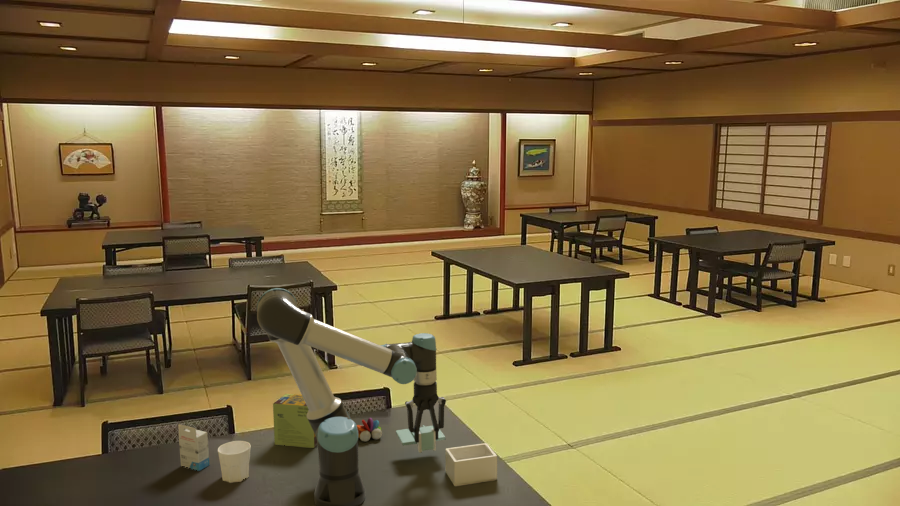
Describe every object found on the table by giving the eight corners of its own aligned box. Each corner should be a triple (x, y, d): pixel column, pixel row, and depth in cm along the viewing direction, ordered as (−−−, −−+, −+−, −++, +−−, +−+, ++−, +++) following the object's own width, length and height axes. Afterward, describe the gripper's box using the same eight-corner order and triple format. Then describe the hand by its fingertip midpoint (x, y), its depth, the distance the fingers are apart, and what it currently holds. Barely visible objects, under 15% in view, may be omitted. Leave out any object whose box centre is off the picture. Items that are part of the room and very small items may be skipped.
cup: (218, 486, 213) (216, 456, 212) (220, 471, 223) (218, 442, 222) (252, 481, 216) (250, 452, 215) (252, 467, 226) (250, 439, 224)
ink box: (210, 465, 227) (207, 423, 225) (198, 471, 223) (195, 428, 221) (191, 460, 231) (189, 418, 229) (180, 466, 227) (177, 423, 225)
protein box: (314, 448, 240) (313, 406, 238) (274, 445, 243) (272, 403, 241) (326, 436, 250) (324, 395, 248) (286, 433, 253) (284, 393, 251)
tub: (454, 486, 212) (454, 461, 211) (445, 471, 222) (445, 448, 221) (497, 479, 216) (497, 455, 215) (486, 466, 226) (486, 443, 225)
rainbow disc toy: (352, 435, 251) (351, 416, 250) (377, 430, 255) (377, 412, 254) (359, 444, 243) (358, 425, 242) (385, 439, 247) (384, 420, 246)
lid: (406, 454, 221) (405, 435, 220) (396, 435, 236) (395, 417, 235) (449, 447, 225) (449, 429, 224) (436, 429, 240) (436, 412, 239)
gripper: (401, 388, 215) (403, 458, 219) (453, 382, 220) (454, 451, 224) (396, 380, 223) (398, 448, 226) (447, 375, 227) (448, 441, 231)
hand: (426, 449), depth 225 cm, fingers closed on lid, 4 cm apart
